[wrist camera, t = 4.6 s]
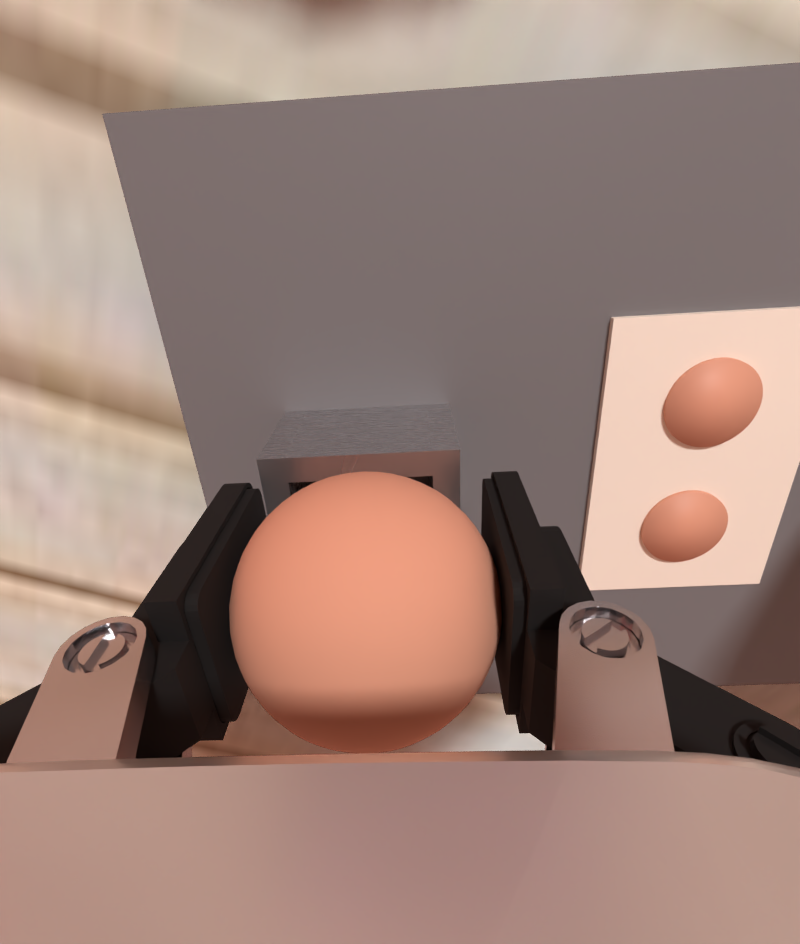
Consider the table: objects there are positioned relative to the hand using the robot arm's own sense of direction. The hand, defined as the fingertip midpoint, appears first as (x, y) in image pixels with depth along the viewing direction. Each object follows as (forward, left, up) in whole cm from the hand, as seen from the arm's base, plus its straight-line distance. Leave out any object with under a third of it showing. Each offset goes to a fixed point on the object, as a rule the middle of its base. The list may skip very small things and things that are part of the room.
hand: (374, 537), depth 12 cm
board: (-9, 0, -5) cm, 10 cm away
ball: (0, 0, +2) cm, 2 cm away
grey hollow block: (0, 0, -3) cm, 3 cm away
